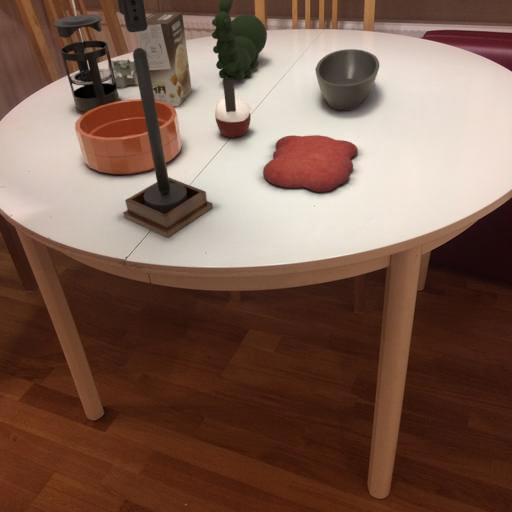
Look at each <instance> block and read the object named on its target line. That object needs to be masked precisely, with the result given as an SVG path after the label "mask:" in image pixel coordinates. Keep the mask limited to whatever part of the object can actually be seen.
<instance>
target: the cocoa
mask: <svg viewBox="0 0 512 512" xmlns="http://www.w3.org/2000/svg"><path fill="white" fill-rule="evenodd" d="M234 80H235V79H234V78H233V77H227V78H224V79H222V85H223V95H224V98H220V99H218V100H217V102H216V105H215V110H214V118H215V122H216V125H217V128H218V130H219V133H221V135H223V136H225V137H226V138H233V139H234V138H239V137H242V136H243V135H245V134H246V133H247V132H248V130H249V128H250V124H251V115H252V114H251V110H252V108H251V106H250V105H249V104H248V103H247V102H245V101H244V100H242V99H239V98H236V92H235V81H234Z"/></svg>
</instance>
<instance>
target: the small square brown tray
mask: <svg viewBox="0 0 512 512" xmlns="http://www.w3.org/2000/svg"><path fill="white" fill-rule="evenodd" d="M168 179H169V183H177V184H180V185H182V186H184V187H185V188H186V190H187V197H188V200H187V201H185V202H184V203H182V204H180V205H179V206H177V207H176V208H174V209H173V210H171V211H169V212H168V213H166V214H163V213H161V212H159V211H156V210H154V209H152V208H149V207H147V206H145V201H144V194H145V192H146V191H147V190H148V189H149V188H151V187H153V186H155V185H158V184H157V181H156V182H154V183H152V184H151V185H149V186H147V187H146V188H143V189H142V190H140V191H139V192H137V193H135V194H133V195H131V196H130V197H128V198H126V199H125V205H126V209H127V210H125V211H123V212H122V214H123V218H125V219H127V220H129V221H131V222H133V223H136V224H138V225H140V226H142V227H145V229H148V230H150V231H153V232H155V233H157V234H159V235H161V236H163V237H166V238H169V237H171V236H173V235H174V234H177V232H179V231H180V230H182V229H183V228H185V227H187V226H188V225H189V224H192V222H194V221H195V220H197V219H198V218H200V217H201V216H203V215H204V214H206V213H208V212H209V211H210V210H212V209H213V208H214V205H213V202H210V201H208V198H207V191H206V190H203V189H201V188H197V187H195V186H192V185H189V184H188V183H184V182H182V181H179V180H177V179H174V178H171V177H169V176H168Z"/></svg>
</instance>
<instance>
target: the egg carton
mask: <svg viewBox="0 0 512 512" xmlns="http://www.w3.org/2000/svg"><path fill="white" fill-rule="evenodd" d="M111 63H112V68H113V72H114V77H115V81H116V86H117V88H120V89H121V88H122V89H123V88H126V87H127V86H132V85H135V86H139V85H138V79H137V74H136V69H135V64H134V60H133V61H131V60H130V59H129V58H127V59H126V60H125V59H120V60H119V59H117V60H111ZM107 68H108V69H107V70H110V67H109V63H108V62H107Z"/></svg>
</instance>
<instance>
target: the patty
mask: <svg viewBox="0 0 512 512" xmlns="http://www.w3.org/2000/svg"><path fill="white" fill-rule="evenodd" d="M275 149H276V150H275V151H274V152H272V153H273V154H272V159H271V160H269V161H268V162H267V163H266V164H265V165H264V166H263V170H262V175H263V177H264V179H265V180H266V181H268V182H269V183H270V184H272V185H274V186H277V187H281V188H287V189H296V188H297V189H298V188H299V189H300V188H305V189H308V190H310V191H313V192H318V193H322V192H323V193H325V192H331V191H333V190H334V189H335V188H337V187H338V186H341V185H343V184H346V182H348V180H349V179H350V173H351V172H352V170H354V163H353V162H352V160H351V159H352V158H354V157H356V156H357V154H358V147H357V145H356V144H354V143H353V142H351V141H348V140H344V139H334V138H333V137H329V136H327V135H326V136H325V135H320V134H319V135H318V134H317V135H314V134H313V135H304V136H302V135H286V136H282V137H281V138H279V139H278V140H277V141H276V143H275Z"/></svg>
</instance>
